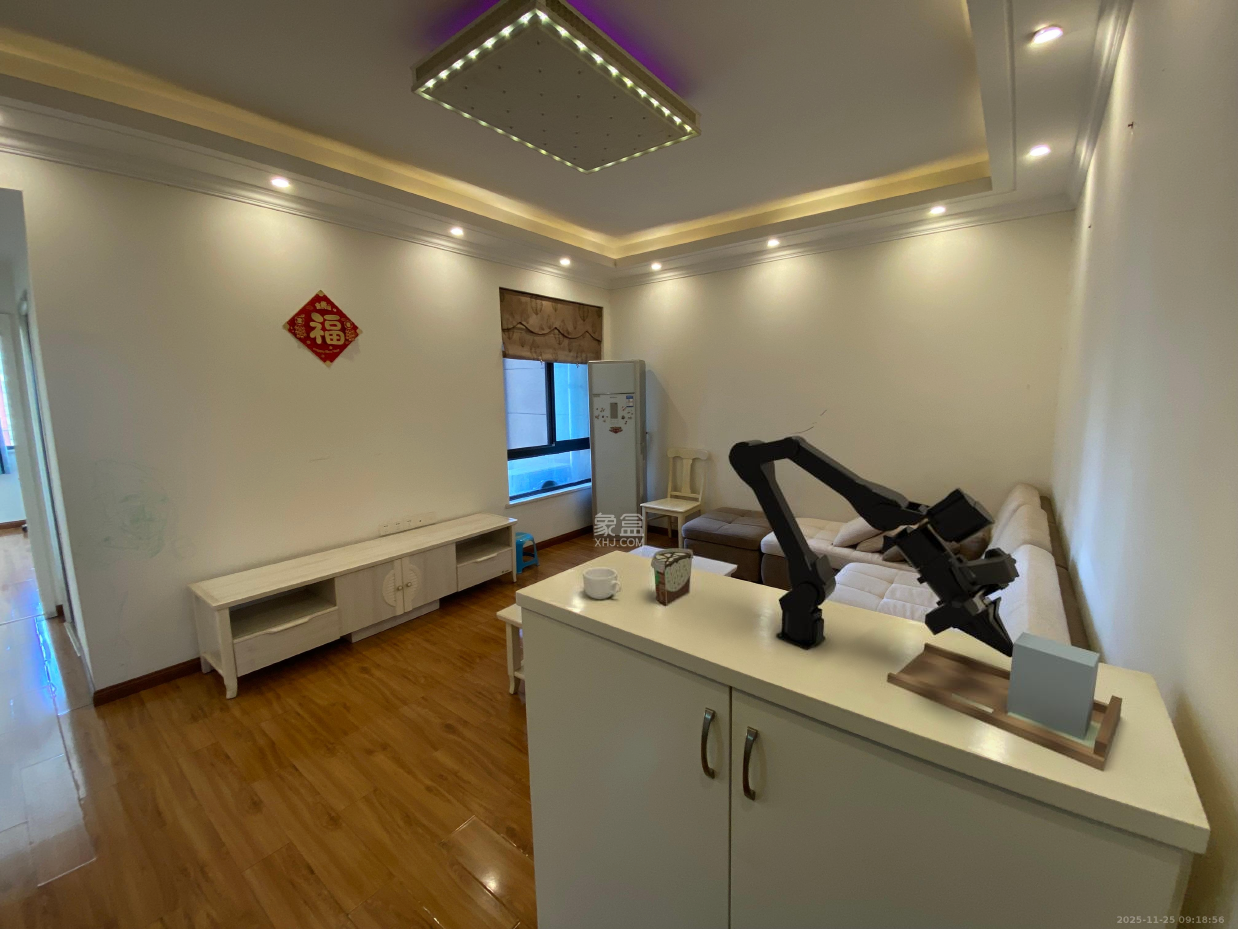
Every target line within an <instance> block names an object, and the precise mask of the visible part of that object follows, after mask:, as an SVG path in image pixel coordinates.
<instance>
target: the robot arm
mask: <svg viewBox="0 0 1238 929" xmlns="http://www.w3.org/2000/svg"><path fill="white" fill-rule="evenodd" d="M786 459H787V460H789V461H791V463H792V462H793V463H794V464H795V465H796V466H798V467H799V468H801V469H802V470H803V471H805V472H806V473H808V474H810V475H811V476H812V477H814V478H816V479H817V480H818V481H820V482H821V483H823V484H824V485H826V486H827V487H829V488H830V489H832V491H834V492H835V493H837V494H839V496H842V497H843V498H844V499H845V500H846V501H847V502H848V503H849V504H850V505H851V506H852V508H853V510H854V511H855V512H856V514H858V516H860V517H861V518H862V519H863V520H864V521H865V522H866V523H867V524H868V525H869V526H870V527H872V528H873V530H876V531H878V532H882V533H883V532H893V531H896V530H898V528H900V527H904V526H905V527H904V528H902V529H900V530H899V531H898V532H896V533H895V534H890V533H886V534H883V535H882V538H883V539H882V541H883V542H882V547H881V552H882V553H886V552H890V551H893V549H895V548H897V550H898V551H899V552H900V553H901V555H903V557H904V558H905V559H906V561H907V562H908V563H909V564H910V566H911V567H912V568H913V570H915V571H916V573H917V574H918V575H919V577H917V578H916V581H917V582H918V583H919V584H920V585H922V584H924V583H926V585H927V586H928V587H929V589H930V590H931V591H932V592H933V593H934V595H935V596H936V597H937V598H938V599H939V600H937V601H936V602H935V604H936V605H937V607H935V608H933V609H931V610H930V611H929V612H927V613H926V614H924V615H925V616H924V625H925V626H926V627H927V629H928V630H929V631H930V632H931V633H932V635H933V636H937V635H939V634H940V633H941V634H942V633H943V632H945V631H947V630H949V629H951V628H952V629H954V630H955V629H957V630H958V631H961V632H963V633H965V634H966V635H968V636H970V637H972V638H974V639H976V640H978V641H980V642H981V643H983V644H985V645H986V646H988V647H990V648H992V649H994V650H995V651H997V652H998V653H1001V654H1002V655H1004V656H1005V657H1007V658H1012V654H1013V645H1014V641H1012V639H1011V636H1010V635H1009V632H1008V630H1007V629H1006V627H1005V624H1004V623H1003V620H1002V618H1001V616H1000V613H999V611H1000V607H1001V606H1000V605H1001V601H1002V596H999V597H996V598H994V599H993V600H992V599H991V598H990V597H989V596H990V595H993V594H994V593H996V592H998V591H1004V590H1005V589H1007V588H1008V587H1009V586H1010V583H1014V582H1015V581H1016V579H1017V578H1020V574H1019V572H1018V569H1017V566H1016V564H1017V559H1015V557H1012V555H1011V553H1006V552H1005V551H1004V550H1003V549H1001V547H995V548H988V549H987V550H985V551H984V557H980V558H978V559H974V560H970V561H969V560H968V559H967V558H966V556H964V555H963V554H960V553H957V555H955V554H953V552H952V551H951V550H950V549H949V548H948V547H947V546H946V545H945V543H950V544H952V543H956V544H957V545H961V544H963V543H965V542H966V541H968V540H971V538H973V537H975V536H976V535H978V534H979V533H981V532H983V531H985V530H987V529H988V528H989V527H992V526H993V525H995V524H996V520H995V518H994V517H993V515H992V514H991V513H990V512H989V511H988V509H987V508H985V507H984V505H983V504H982V503H980V501H978V500H975V499H974V498H973V497H972V496H971V495H970V494H968V493H967V492H965V491H963V489H962V488H961V487H956V488H954V489H953V490H951V491H950V492H949V493H948V494H947V495H946V496H945V497H944V498H942V499H940V500H939V501H937V502H935V503H934V504H933V505H929V504H924V503H920V502H916V501H912V500H908V498H907V497H906V496H905V495H904V494H902V493H900V492H898V491H896V490H893V489H892V488H889V487H887V486H885V485H882V484H879V483H876V482H873V481H870V480H868V479H865V478H864V477H861V476H859V475H858V474H857V473H855V472H854V471H852V470H851V469H849V468H848V467H846V466H845V465H843V464H841V463H840V462H839V461H838V460H835V459H834V458H832V457H831V456H830V455H828V454H826V453H825V452H823V451H822V450H820V449H819V448H817V447H815V446H814V445H812V444H811V443H809V442H808V441H806V439H805V438H804V437H803V436H800V435H791V436H786V437H784V438H782V439H778V440H772V441H767V442H765V441H764V440H761V439H750V440H745V441H744V440H743V441H739V442H736V443H735V444H734V445H733V446H732V447H731V448H730V450H729V454H728V462H729V464H730V466H731V468H732V469H733V470H734V472H735V473H736V475H737V476H738V477H739V479H740V480H741V481H742V482H744V483H745V484H746V485H747V486H748V487H749V488H750V489H751V490H752V491H753V493H754V495H755V498H756V499H757V502H758V504H759V506H760V508H761V510H762V511H763V513H764V515H765V518H766V520H767V522H768V524H769V527H770V528H771V530H772V532H773V534H774V537H775V539H776V540H777V543H778V545H779V547H780V549H781V550H782V553H783V554H784V557H785V560H786V565H787V567H786V568H787V578H788V581H789V582H788V583H789V585H790V589H789V590H788V591H787V592H786V593H785V594H783V595H781V596H780V597H779V599H778V603H779V606H780V609H781V612H782V613H781V630H780V631H779V632H777V633H776V637H777V638H778V639H781V640H783V641H786V642H788V643H791V644H793V645H794V646H798V647H800V648H803V649H805V650H810V649H811V648H813V647H815V646H816V645H818V644H820V643H821V642H823V641H824V640H826V635H824V633H825V632H824V631H825V619H824V618H823V608H820V607H819V606H821V605H822V604H823V603H825V601H826V600H828V599H829V598H830V596H831V595H832V594H833V593H834V592H835V590H836V587H837V580H836V576H838V573H837V572H836V571H835V570H834V569H833V568H832V566H831V563H830V560H829V557H828V556H827V554H823V555H821V556H818V555H817V553H815V552H814V551H813V550H812V549H811V547H810V545H809V543H808V542H807V539H806V538H805V535H804V533H803V531H802V529H801V527H800V525H799V523H798V521H797V519H796V517H795V516H794V513H793V511H792V510H791V509H792V508H791V507H790V505H789V503H788V501H787V499H786V498H785V496H784V493H783V491H782V489H781V487H780V486H779V484H778V482H777V478H776V467H775V466H776V465H775V461H781V460H786ZM926 519H927V520H926ZM924 520H926V521H925V522H923V521H924ZM921 522H923V523H922V524H920V523H921ZM918 524H920V525H919V526H917V527H915V526H916V525H918ZM912 526H914V527H915V528H914V527H912ZM943 541H944V542H945V543H944V542H943Z"/></svg>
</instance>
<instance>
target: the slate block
mask: <svg viewBox="0 0 1238 929" xmlns="http://www.w3.org/2000/svg"><path fill="white" fill-rule="evenodd" d="M1013 644H1014V645H1013V654H1012V657H1011V664H1010V671H1011V672H1010V681H1009V690H1008V699H1007V708H1006V711H1009V712H1012V713H1014V714H1017V715H1019V716H1022V717H1024V718H1027V719H1030V720H1032V721H1035V722H1037V723H1040V724H1042V725H1045V726H1048V727H1050V728H1053V729H1055V730H1058V731H1060V732H1063V733H1066V734H1068V735H1071V736H1073V737H1076V738H1079V739H1081V740H1084V739H1085V736H1086V734H1087V731H1088V729H1089V727H1090V724H1091V717H1092V709H1093V702H1094V699H1095V693H1096V688H1097V687H1096V686H1097V679H1098V672H1099V663H1100V656H1101V653H1098V652H1095V651H1091V650H1088V649H1084V648H1080V647H1077V646H1075V645H1070V644H1066V643H1063V642H1060V641H1057V640H1056V641H1055V640H1053V639H1049V638H1046V637H1042V636H1038V635H1035V634H1032V633H1028V632H1025V631H1022V632H1021V633H1020V635H1019V636H1018V637H1017V638H1016V640H1014V641H1013Z"/></svg>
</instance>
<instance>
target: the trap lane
mask: <svg viewBox="0 0 1238 929" xmlns="http://www.w3.org/2000/svg"><path fill="white" fill-rule="evenodd" d="M1010 672H1011V670H1009V669H1006V668H1003V667H1000V666H996V665H994V664H991V663H987V662H985V661H981V660H979V659H977V658H973V657H969V656H966V655H964V654H961V653H958V652H956V651H952V650H949V649H946V648H943V647H942V646H941V647H940V646H938V645H935V644H931V643H929V642H925V643H924V646H923V650H922V651H921V652H920V653H919V654H918V655H916V656H915V657H914V658H913V659H912V660H911V661H909V662H908V663H907V664H906V665H905V666H903V668H901V669H900V670H899V671H898V672H896V673H895V674H894V673H892V672H888V673H887V676H886V677H887V678H886V681H887V682H886V683H889V684H892V685H894V686H896V687H899V688H901V689H903V690H906V691H908V692H911V693H914V694H916V695H918V696H920V697H923V698H925V699H927V700H930V701H932V702H935V703H938V704H939V705H941V706H942V705H943V706H944V707H946V708H949V709H952V710H955V711H957V712H959V713H961V714H964V715H966V716H969V717H970V718H973V719H976V720H979V721H981V722H983V723H985V724H988V725H990V726H993V727H995V728H997V729H1000V730H1002V731H1004V732H1008V733H1010V734H1012V735H1014V736H1017V737H1019V738H1022V739H1024V740H1027V741H1029V742H1031V743H1033V744H1036V745H1039V746H1041V747H1043V748H1046V749H1048V750H1050V751H1052V752H1056V753H1058V754H1061V755H1063V756H1065V757H1067V758H1070V759H1073V760H1075V761H1077V762H1079V763H1082V764H1084V765H1087V766H1089V767H1092V768H1094V769H1097V770H1099V771H1101V772H1103V771H1104V767H1105V765H1106V761H1107V758H1108V755H1109V752H1110V750H1111V746H1112V743H1113V740H1114V737H1115V735H1116V731H1117V728H1118V724H1119V722H1120V719H1121V714H1122V704H1123V698H1122V697H1119V696H1115V695H1113V694H1111V697H1110V699H1109V702H1108V703H1106V702H1104V701H1100V700H1098V699H1095V698H1094V702H1093V709H1092V717H1091V724H1090V727H1089V729H1088V731H1087V734H1086V736H1085V739H1084V740H1081V739H1079V738H1076V737H1073V736H1071V735H1068V734H1066V733H1063V732H1060V731H1058V730H1055V729H1053V728H1050V727H1048V726H1045V725H1042V724H1040V723H1037V722H1035V721H1032V720H1030V719H1027V718H1024V717H1022V716H1019V715H1017V714H1014V713H1012V712H1009V711H1006V708H1007V699H1008V690H1009V681H1010ZM952 695H956V696H959V697H961V698H963V699H966V700H969V701H971V702H973V703H976V704H979V705H982V706H984V707H986V708H989V709H991V710H992V711H991V712H990V711H988V710H985V709H983V708H981V707H978V706H976V705H973V704H970V703H967V702H965V701H962V700H960V699H958V698H955V697H952Z"/></svg>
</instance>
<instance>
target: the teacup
mask: <svg viewBox="0 0 1238 929" xmlns="http://www.w3.org/2000/svg"><path fill="white" fill-rule="evenodd" d="M582 578H583V586H584V591H585V593H586V594H587V595H588V596H589V597H591V598H592V599H596V600H605V599H608V598H610V597H611V596H612V595H614V594H618V593H620V592H622V587H623V586H622V584H621V583H620V582H619V580H618V572H617V570H616V569H614V568H611V567H606V566H595V567H589V568H586V569H584V570H583V572H582ZM617 585H618V590H617V589H616V588H617Z"/></svg>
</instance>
